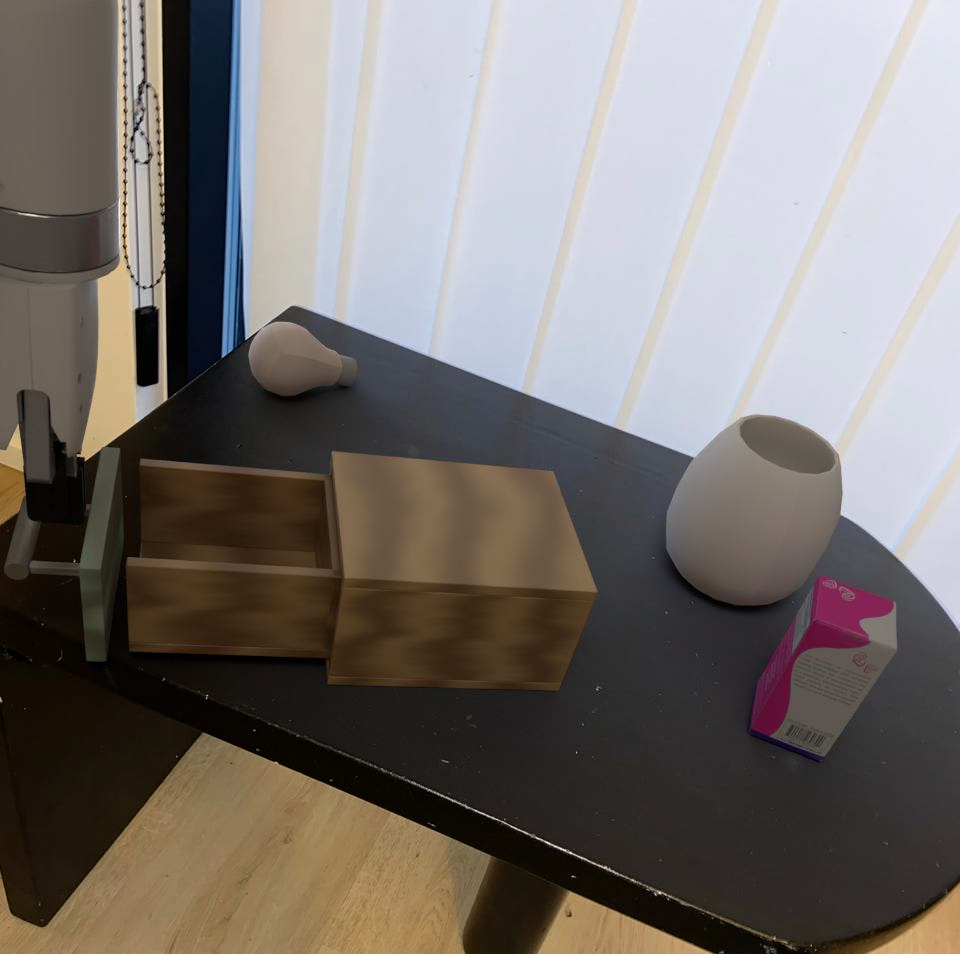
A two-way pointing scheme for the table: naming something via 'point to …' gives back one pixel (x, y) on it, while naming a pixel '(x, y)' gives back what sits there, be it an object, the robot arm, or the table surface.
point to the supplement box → (823, 668)
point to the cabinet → (454, 576)
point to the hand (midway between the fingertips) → (57, 514)
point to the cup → (755, 510)
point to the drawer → (205, 560)
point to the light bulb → (296, 361)
